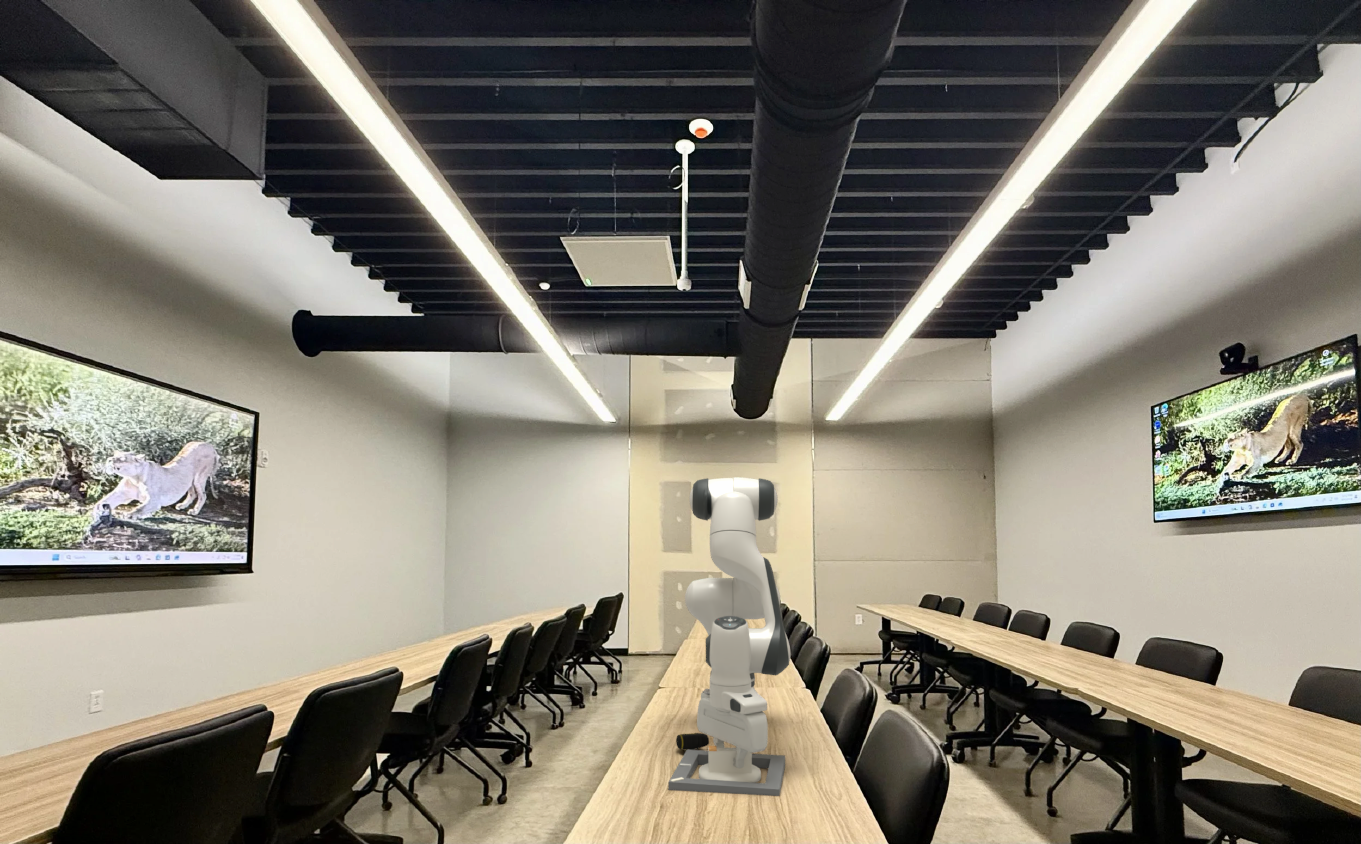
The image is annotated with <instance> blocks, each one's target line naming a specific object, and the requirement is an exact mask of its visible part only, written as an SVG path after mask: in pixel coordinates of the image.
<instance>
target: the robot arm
mask: <svg viewBox="0 0 1361 844" xmlns="http://www.w3.org/2000/svg"><path fill="white" fill-rule="evenodd" d="M692 485H693V486H692V488H691V490H690V493H689V497H688V498H689V500H688V501H689V506H690V509H691V512H692V514H693V516H694V517H696V518H697V519H698V520H699V519H700V520H703V521H707V522H708V521H709V520H710V526H709V554H710V558H711V561H712V563H713V564H714V566H715V567H717V569H719V570H720V571H721V572H723V573H724V574H726V575H728V576H729V577H705V578H701V579H694V580H692V581H691V582H690V583H689V585H688V586H687V588H686V590H685V593H684V604H685V607H686V609H687V611H688V612H689V613H690V614H691V616H693V617H694V618H695V619H696V620H698V621H699V623H700V624H701V625H702V626H703V628H704V629H705V631H706V633H707V637H705V663H706V664H707V665H708V667H710V668H711V669H710V670H711V671H710V676H709V688H704V690H703V691H702V692H701V693H700V700H699V701H698V702H699V703H698V706H697V715H696V716H697V719H696V727H697V729H698V732H699V733H702V734H706V735H707V736H708V737H709V736H710V737H711V738H713V739H712V741H713V746H716V747H725V748H726V746H725V743H727V744H729V745H732V746H735V748H736V751H738V753H737V756H736V758H733V762H734V763H733V766H734V767H737V768H743V767H744V758H745V756H746V754H747V752H748V751H749V752H752V754H756V753H758V752H764V751H765V750H766V749H767V747H768V739H769V738H768V735H769V733H768V732H769V731H768V729H769V728H768V727H769V725H768V718H767V715H766V714H765V711H767V710H768V701H767V700H766V698H764V697H763V696H762V695H761V694H759V692H758V691H757V690H756V688H755V685H756V683H755V682H756V676H755V674H762V675H767V676H778V675H779V674H781V673H783V672H784V671H785V670H786V669H787V668H788V666H789V665H790V661H791V647H790V643H789V642H790V641H789V639H788V636H787V634H786V633H787V632H786V631H785V627H784V622H783V614H782V609H781V605H780V604H781V595H780V591H779V589H778V586H777V584H776V581H775V580H776V579H775V575H774V571H773V568H772V564H771V562H770V561H769V559H768V558H766V557H764V556H763V555H762V553H761V551H760V550H759V547H758V544H757V526H756V525H757V524H756V520H758V521H759V522H760V521H764V520H765V521H766V520H769V519H770V518H772V517H773V516H774V515H775V514H774V513H775V511H776V509H777V506H778V501H779V499H778V492H777V491H776V488H775V484H774V483H773V482H772V481H771V480H769V479H765V478H758V479H757V478H750V477H741V476H740V477H738V476H733V477H721V478H718V477H717V478H712V479H709V478H708V477H706V478H703V479H697V480H695V482H694V483H693V484H692ZM760 619H761V620H762V619H764V623H765V625H764V626H763V627H761V628H756V627H755V628H751V627H749V623H748V621H747V620H760Z"/></svg>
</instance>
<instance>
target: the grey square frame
mask: <svg viewBox="0 0 1361 844" xmlns="http://www.w3.org/2000/svg"><path fill="white" fill-rule="evenodd" d="M707 763H708V750H702V749H701V750H700V749H699V750H698V749H694V750H687V751H684V754H683V756H682V757H681V760H680V761H679V763H678V765H677V766H676V768H675V770H674V772H673V773H672V775H671V777H670V779H669V780H668V786H667V789H668V791H681V792H696V793H697V792H698V793H714V794H715V793H716V794H731V795H733V794H734V795H735V794H736V795H750V796H751V795H753V796H769V797H770V796H771V797H772V796H773V797H780V795H781V790H782V786H783V781H784V779H783V778H784V773H785V770H786V755H784V754H783V755H780V754H769V753H767V754H765V753H752V765H755V766H757V767H758V768H759V769H767V774H766V776H765V777H766V778H765V782H756V783H753V782H738V781H723V780H708V779H699V778H692V776H693V774H694V773H695V771H696V770H697V767H698V766H703V765H705V764H707Z"/></svg>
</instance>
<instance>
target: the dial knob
mask: <svg viewBox="0 0 1361 844" xmlns="http://www.w3.org/2000/svg"><path fill="white" fill-rule="evenodd" d="M707 749H708V750H707V751H708V763H707V764H705V765H700V767H699V769H698V779H708V780H723V781H738V782H753V783H759V782H760V781H761V779H762V772H761V771H762V770H761V768H758V767H757V766H755V765H752V754H753V753H752V752H749V751H748V752H747V754H746V756H745V758H744V767H743V768H737V767H734V766H733V763H734V762H733V758H736V756H737V753H738V751H736V747H726V746H725V747H716V746H715V745H708V748H707Z"/></svg>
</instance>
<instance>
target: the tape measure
mask: <svg viewBox="0 0 1361 844" xmlns="http://www.w3.org/2000/svg"><path fill="white" fill-rule="evenodd" d="M709 742H710V737H709V735H707V734H704V733H702V732H695V733H694V732H693V733H692V732H691V733H681V734H677V735H676V738H675V744H676V747H677V749H679V750H683V751H684V752H686V751H687V750H700V749H701V748H705V747H706V746H709Z"/></svg>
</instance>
